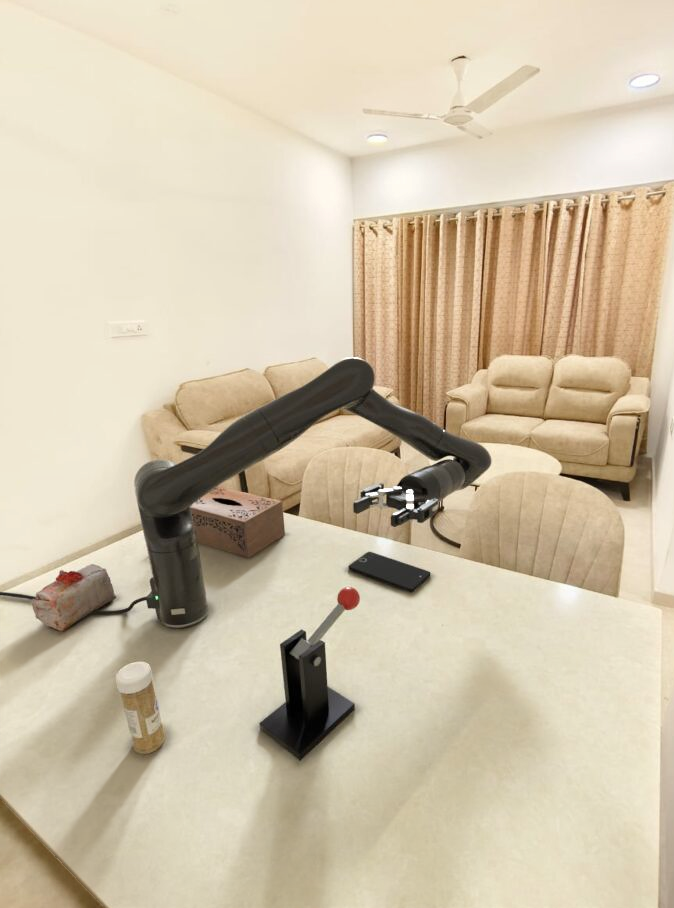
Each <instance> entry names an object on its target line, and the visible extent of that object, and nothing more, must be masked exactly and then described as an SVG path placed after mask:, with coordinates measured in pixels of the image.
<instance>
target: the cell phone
mask: <svg viewBox="0 0 674 908" xmlns="http://www.w3.org/2000/svg"><path fill="white" fill-rule="evenodd" d="M347 570H349V571H352V572H355V573H358V574H360V575H363V576H366V577H369V578H371V579H374V580H377V581H379V582H382V583H384V584H387V585H390V586H393V587H395V588H398V589H401V590H403V591H406V592H409V593H413V592H415V591H416V590H417V589H418V588H419V587H421V586H422V585H423V584H424V583H425V582H426V581H427V580H428V579H429V578H430V577H431V571H428V570H426V569H423V568H420V567H417V566H414V565H412V564H408V563H406V562H403V561H399V560H396V559H394V558H391V557H388V556H384V555H381V554H378V553H376V552H373V551H367V552H365V553H364V554H363V555H361V556H360V557H359V558H357V559H356V560H354V561H353V562H351V563H349V565H348V569H347Z"/></svg>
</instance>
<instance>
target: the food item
mask: <svg viewBox="0 0 674 908" xmlns="http://www.w3.org/2000/svg"><path fill="white" fill-rule="evenodd" d="M58 573H59V574H58V576H56V577H55V581H52V582H51V583H49V584H47V585H45V586H44V587H43V588H42V589H40V590H39V591H37V592H36V593H35V597H36V598H35V599H31V601H30V602H29V603H30V605H31V606H32V610H33V613H34V615H35V619H36V620H39V621H40V622H41V623H42V624H43V625H44V626H46V627H50V628H52V629H55V630H57V631H59V632H64V631H65V630H67V629H68V628H71V627H72V626H73V625H74V624H76V623H77V622H79V621H80V620H82V619H84V618H85V617H86V616H88V615H91V614H92V613H91V612H92V611H94V610H100V609H101V608H102V607H103V606H105V605H107V604H109V603H110V602H112V601H113V600H115V599H117V596H116V595H115V593H114V592H115V591H114V586H113V584H112V581H111V577H110V576H109V573H108V571H107V568H103V567H101V566H100V565H97V564H94V563H91V564H89V565H87V566H85V567H83V568H81V569H79V570H77V571H76V570H70V571H64V570H63V569H60V570H59V572H58Z"/></svg>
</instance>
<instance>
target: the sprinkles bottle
mask: <svg viewBox="0 0 674 908" xmlns="http://www.w3.org/2000/svg"><path fill="white" fill-rule="evenodd" d="M153 676H154V675H153V672H152V667H151V665H150V664H149V663H147V662H146V661H134V662H131V663H128V664H126V665H125V666H123V667H121V668H120V670H118V671H117V672H116V675H115V683H116V688H117V690H118V692H119V693H120V697H121V701H122V707H123V711H124V714H125V719H126V723H127V726H128V730H129V734H130V735H131V738H132V742H133V744H132V747H133V750H134V751H135V752H136V753H138V754H141V755H146V754H151V753H153V752H155V751H157V750H158V749H160V747H161V746H162V745H163V744H164V743H165V740H166V732H165V730H164V727H163V722H162V715H161V712H160V707H159V702H158V698H157V695H156V691H155V687H154V682H153V678H154V677H153Z"/></svg>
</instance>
